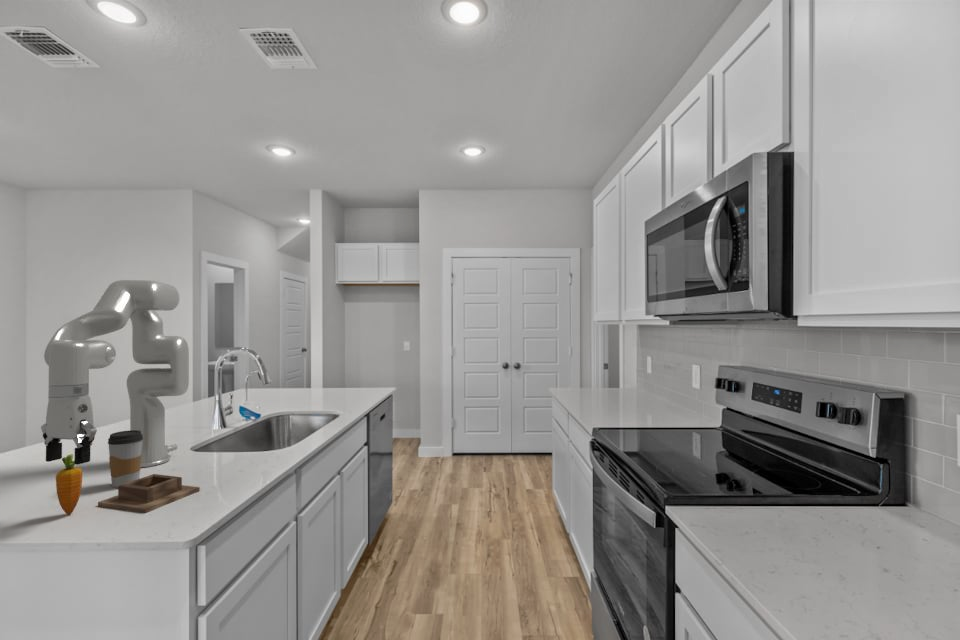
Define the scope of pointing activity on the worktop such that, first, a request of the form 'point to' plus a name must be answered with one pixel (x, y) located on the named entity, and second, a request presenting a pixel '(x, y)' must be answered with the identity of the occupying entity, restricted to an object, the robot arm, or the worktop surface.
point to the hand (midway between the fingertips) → (68, 461)
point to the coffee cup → (125, 456)
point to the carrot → (69, 485)
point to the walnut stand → (148, 493)
